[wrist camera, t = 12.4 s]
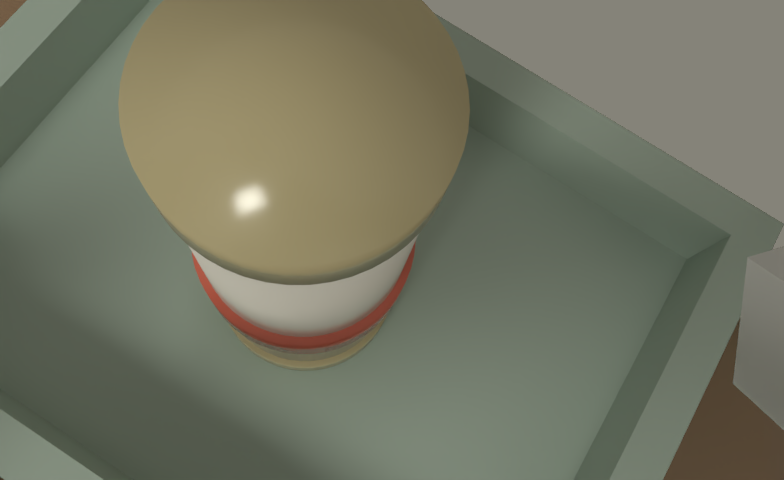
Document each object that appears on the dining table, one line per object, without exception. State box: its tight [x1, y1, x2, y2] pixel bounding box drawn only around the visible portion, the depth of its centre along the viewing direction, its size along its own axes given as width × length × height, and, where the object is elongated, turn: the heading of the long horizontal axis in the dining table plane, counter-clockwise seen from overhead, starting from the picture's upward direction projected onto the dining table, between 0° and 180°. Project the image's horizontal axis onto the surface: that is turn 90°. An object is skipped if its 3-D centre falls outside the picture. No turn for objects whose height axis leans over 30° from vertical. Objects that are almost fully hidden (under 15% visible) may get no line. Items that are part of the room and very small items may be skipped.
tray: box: [0, 0, 784, 480], centre depth 18 cm, size 18×14×3 cm
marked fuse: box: [118, 0, 470, 371], centre depth 14 cm, size 4×4×10 cm
